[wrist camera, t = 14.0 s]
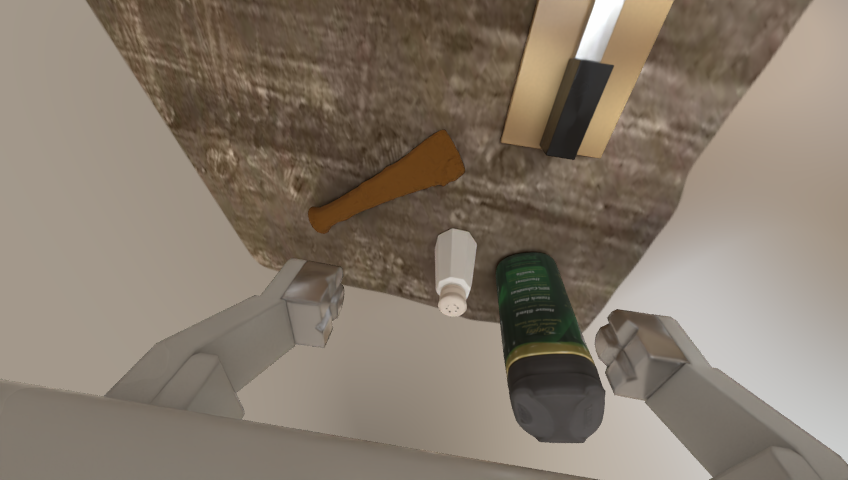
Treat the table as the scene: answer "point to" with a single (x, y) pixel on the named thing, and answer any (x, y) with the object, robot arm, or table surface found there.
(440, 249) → the pepper shaker
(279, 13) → the table surface
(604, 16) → the knife
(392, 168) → the primitive tool
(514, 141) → the cutting board
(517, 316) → the coffee jar
